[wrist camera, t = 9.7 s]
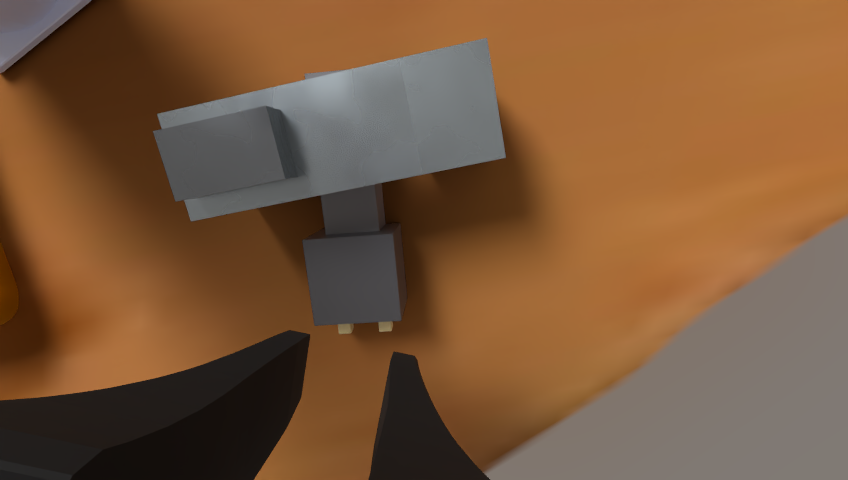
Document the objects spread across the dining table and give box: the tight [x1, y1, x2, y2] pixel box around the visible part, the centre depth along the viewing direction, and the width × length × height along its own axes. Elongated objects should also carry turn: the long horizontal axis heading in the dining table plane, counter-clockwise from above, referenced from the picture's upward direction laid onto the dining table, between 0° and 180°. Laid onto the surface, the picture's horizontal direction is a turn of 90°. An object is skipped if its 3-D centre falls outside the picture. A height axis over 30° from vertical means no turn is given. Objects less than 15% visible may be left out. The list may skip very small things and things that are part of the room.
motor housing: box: [153, 38, 506, 221], centre depth 16 cm, size 4×12×6 cm, turn 101°
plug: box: [302, 69, 407, 334], centre depth 18 cm, size 12×4×3 cm, turn 5°
